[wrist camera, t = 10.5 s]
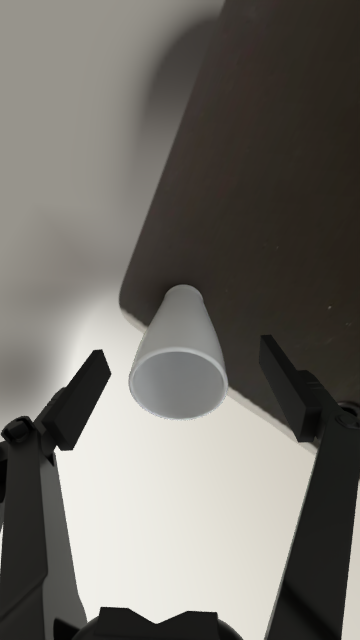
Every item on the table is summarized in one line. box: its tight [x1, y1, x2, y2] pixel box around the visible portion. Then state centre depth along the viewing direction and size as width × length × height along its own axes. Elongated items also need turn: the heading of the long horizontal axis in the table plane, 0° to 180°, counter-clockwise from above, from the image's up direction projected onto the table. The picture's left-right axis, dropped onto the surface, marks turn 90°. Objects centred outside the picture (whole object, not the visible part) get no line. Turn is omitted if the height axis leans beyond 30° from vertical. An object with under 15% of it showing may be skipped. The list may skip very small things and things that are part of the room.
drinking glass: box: [129, 285, 228, 420], centre depth 19 cm, size 7×7×15 cm
